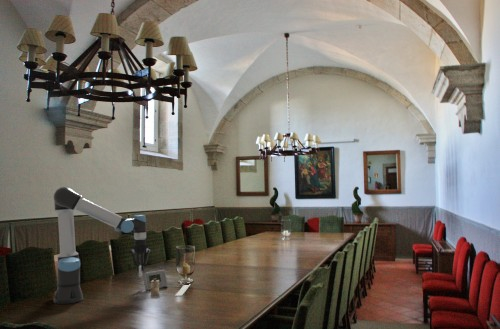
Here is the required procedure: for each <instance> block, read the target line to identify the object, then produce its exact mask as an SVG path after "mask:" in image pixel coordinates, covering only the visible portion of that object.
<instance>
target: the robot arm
mask: <svg viewBox="0 0 500 329" xmlns="http://www.w3.org/2000/svg"><path fill="white" fill-rule="evenodd" d="M53 201H54V211H55V212H56V213H57V221H58V222H57V223H58V239H59V240H58V241H59V242H58V243H59V254H58V255H57V289H56V291H55V295H54V296H53V303H54V304H56V303H57V305H58V304H59V305H66V304H67V305H68V304H74V303H78V302H81V301H83V300H84V294H83V292H82V289H81V259H80V256H79V252H77V251H76V234H75V218H74V212H75V211H78V212H81V213H83V214H85V215H87V216H89V217H91V218H93V219H95V220H98V221H100V222H102V223H104V224H106V225H108V226H110V227H113V228H114V231H115V232H123V233H125V234H127V233H131V232H132V231H133V239H134V241H133V243H134V244H133V245H134V246H133V249H131V250H130V251H129V252H130V254H131V257H132V261H133V265H134V266H136V268H137V269H136V270H137V272H138V277H139V278H140V277H143V272H144V271H145V266H146V265H147V263H148V259H149V255H150V252H151V249H149V248H148V246H147V216H146V215H145V214H135V215H133V218H125V217H123V216H121V215H119V214H117V213H116V212H113V211H110V210H109V209H106V208H104V207H103V206H100V205H98V204H96V203H94V202H93V201H91V200H88V199H86V198H84V196H83V195H82V194H79V193H78V192H76V191H75V190H73V188H71V187H68V186H61V187H60V188H59V187H58V188H57V189H56V191H54V194H53ZM145 252H146V253H145Z"/></svg>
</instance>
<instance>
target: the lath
mask: <svg viewBox="0 0 500 329" xmlns="http://www.w3.org/2000/svg"><path fill="white" fill-rule="evenodd" d="M191 285H192V284H189V285H184V284H183V285H182V287H181V288H180V289H179V290H178V291H177V292H176V294H175V295H174V297H182V296H184V294H185V293H186V291H188V289H189V287H191Z"/></svg>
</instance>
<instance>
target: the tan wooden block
mask: <svg viewBox="0 0 500 329" xmlns="http://www.w3.org/2000/svg"><path fill="white" fill-rule="evenodd" d="M159 294H160V288H159V280H156V279H154V280H152V281H151V290H150V296H158V295H159Z"/></svg>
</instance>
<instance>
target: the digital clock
mask: <svg viewBox="0 0 500 329" xmlns="http://www.w3.org/2000/svg"><path fill="white" fill-rule="evenodd" d="M166 273H167V272H166V270H165V269H158V270H151V271H148V272H147V271H146V272H142V278H143V282H144V283H143V284H144V289H145V291H151V281H152V280H154V279H156V280H159V289H163V288H165V287H168V286H169V285H168V279H167V274H166Z"/></svg>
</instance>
